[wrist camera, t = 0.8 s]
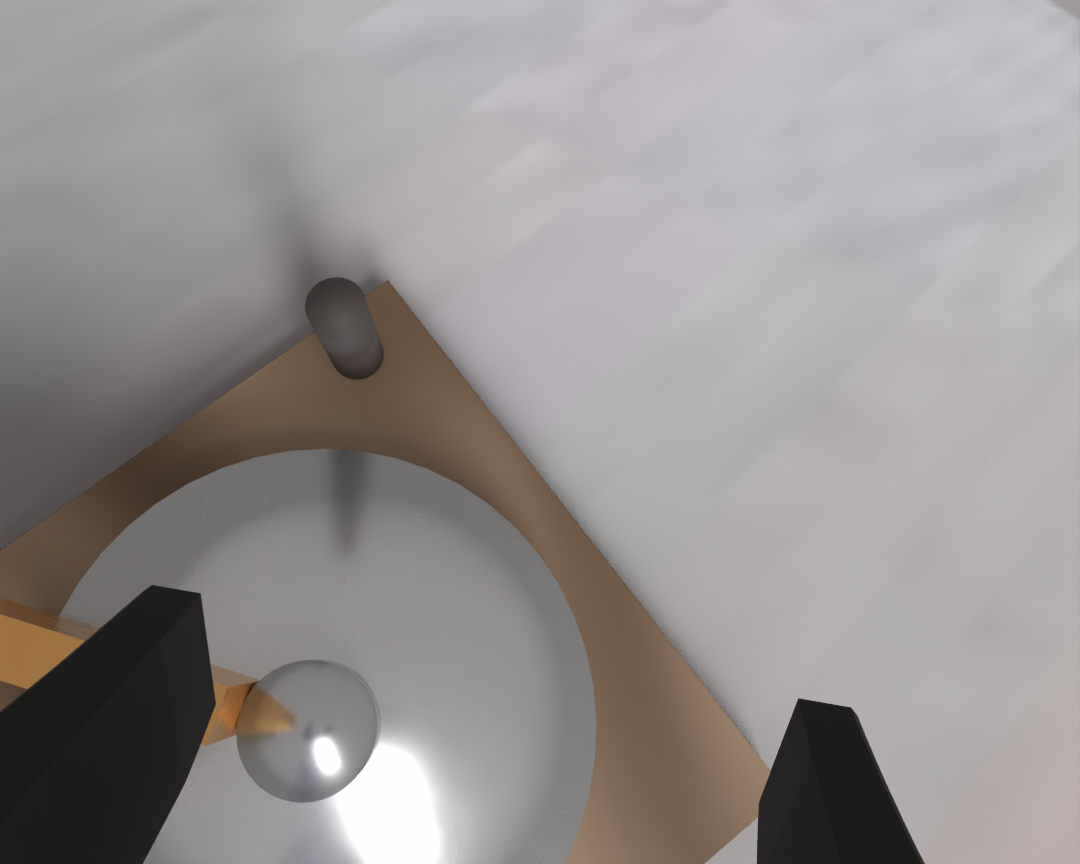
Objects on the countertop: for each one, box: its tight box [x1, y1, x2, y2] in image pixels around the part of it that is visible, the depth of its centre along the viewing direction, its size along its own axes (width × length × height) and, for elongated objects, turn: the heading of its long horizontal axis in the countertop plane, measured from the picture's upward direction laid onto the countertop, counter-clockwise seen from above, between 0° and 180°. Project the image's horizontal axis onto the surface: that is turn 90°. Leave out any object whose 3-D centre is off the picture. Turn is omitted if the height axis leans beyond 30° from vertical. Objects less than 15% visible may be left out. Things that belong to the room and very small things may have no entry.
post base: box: [0, 278, 771, 864], centre depth 24 cm, size 16×17×6 cm
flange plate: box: [0, 449, 596, 864], centre depth 22 cm, size 13×13×4 cm
